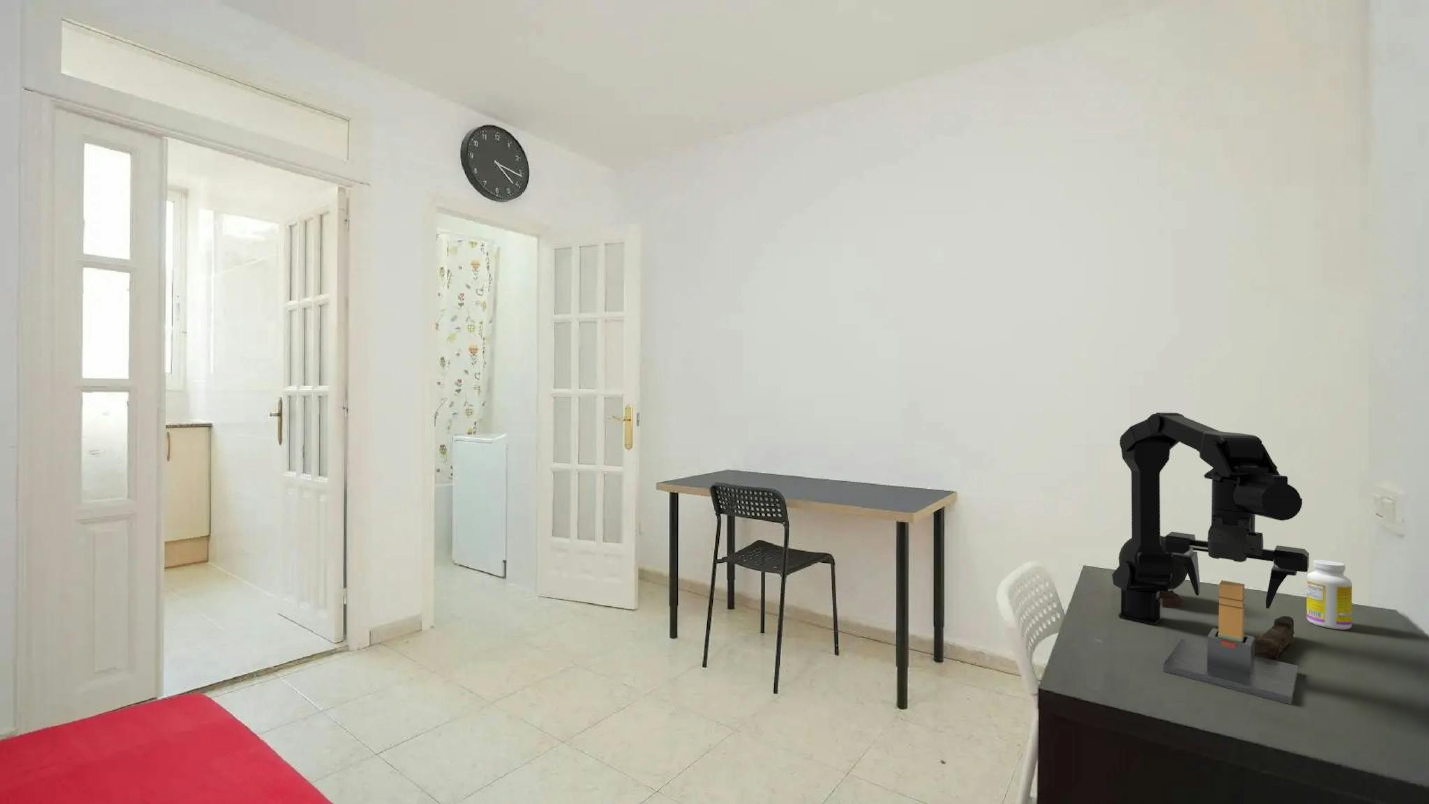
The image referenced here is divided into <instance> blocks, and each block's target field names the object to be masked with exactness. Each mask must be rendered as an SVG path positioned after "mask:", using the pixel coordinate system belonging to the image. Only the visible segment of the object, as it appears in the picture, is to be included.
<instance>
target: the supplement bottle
mask: <svg viewBox="0 0 1429 804" xmlns="http://www.w3.org/2000/svg"><path fill="white" fill-rule="evenodd" d="M1312 567H1313V568H1314V571H1311V572H1309V573H1308V574H1307V576H1306V620H1307V621H1308V622H1309V623H1311V624H1312V625H1316V626H1319V627H1322V628H1328V629H1333V630H1343V631H1345V630H1349V629H1351V628H1352V625H1353V624H1352V623H1353V620H1352V618H1353V613H1352V611H1353V610H1352V608H1353V606H1352V605H1353V597H1352V595H1353V594H1352V593H1353V582H1352V581H1351V579H1350V578H1349V577H1347V576H1346V575H1344V573H1345V571H1346V565H1345V563H1342V562H1338V561H1334V560H1326V559H1313V561H1312Z"/></svg>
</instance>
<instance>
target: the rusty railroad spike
mask: <svg viewBox="0 0 1429 804" xmlns="http://www.w3.org/2000/svg"><path fill="white" fill-rule="evenodd" d="M1294 634H1295V621H1294V618H1292V617H1291V616H1288V615H1286V616H1285V615H1283V616H1280V617H1278V618H1275V619H1274V622H1273V625H1272V627H1271V628H1269V629H1268V630H1267V631H1265V632H1264V633H1262V635H1260V636H1259V637H1258V638H1255V646H1254V656H1257V657H1262V658H1266V659H1270V660H1275V661H1278V657H1279V656H1280V653H1281V652H1283V651H1284V650H1285V648H1286V647H1287V646H1292V645H1293V643H1294V642H1293V641H1294Z"/></svg>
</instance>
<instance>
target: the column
mask: <svg viewBox="0 0 1429 804" xmlns="http://www.w3.org/2000/svg"><path fill="white" fill-rule="evenodd" d="M1218 585H1219V587H1218V591H1219V592H1218V593H1219V594H1218V629H1219V633H1218V637H1219V638H1223V639H1228V640H1232V641H1237V642H1242V643H1243V641H1244V635H1245V632H1244V631H1245V606H1246V604H1245V598H1246V597H1245V585H1246V584H1245V583H1241V582H1235V581H1227V580H1223V579H1222V580H1220V582H1219V584H1218Z"/></svg>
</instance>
